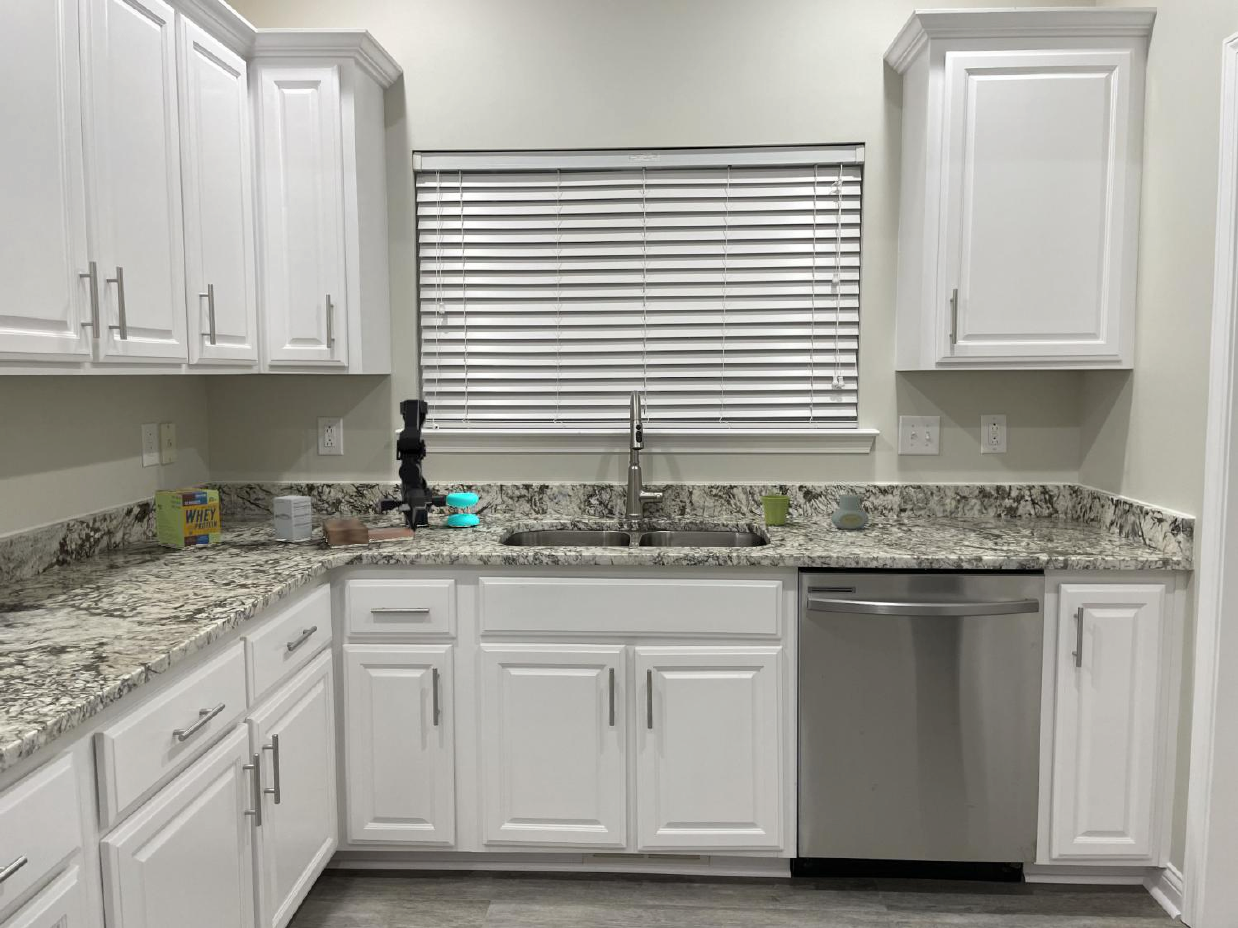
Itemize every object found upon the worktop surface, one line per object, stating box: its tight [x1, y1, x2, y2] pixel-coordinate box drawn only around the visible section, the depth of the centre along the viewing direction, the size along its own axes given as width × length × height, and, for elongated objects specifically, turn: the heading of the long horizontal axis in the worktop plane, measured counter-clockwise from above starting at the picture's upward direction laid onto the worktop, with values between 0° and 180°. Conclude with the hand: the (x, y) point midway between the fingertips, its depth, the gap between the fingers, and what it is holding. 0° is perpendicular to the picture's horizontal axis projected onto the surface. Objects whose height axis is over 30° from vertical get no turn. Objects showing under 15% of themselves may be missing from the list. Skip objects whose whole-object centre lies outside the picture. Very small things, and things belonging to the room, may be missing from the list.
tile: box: [368, 526, 415, 540], centre depth 255 cm, size 15×8×3 cm, turn 115°
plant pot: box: [759, 494, 792, 526], centre depth 277 cm, size 9×9×9 cm
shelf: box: [321, 518, 369, 547], centre depth 252 cm, size 10×20×5 cm, turn 24°
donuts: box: [446, 492, 480, 526], centre depth 279 cm, size 10×10×10 cm
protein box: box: [154, 487, 222, 547], centre depth 248 cm, size 10×15×16 cm
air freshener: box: [830, 493, 870, 531], centre depth 267 cm, size 11×8×10 cm
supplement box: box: [273, 495, 313, 540], centre depth 254 cm, size 7×7×13 cm
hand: (413, 532), depth 260 cm, fingers closed
